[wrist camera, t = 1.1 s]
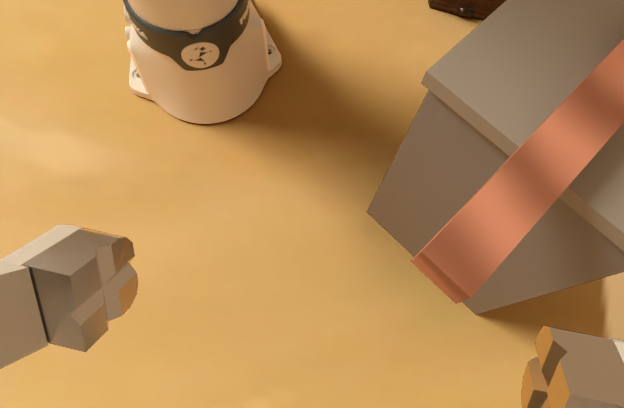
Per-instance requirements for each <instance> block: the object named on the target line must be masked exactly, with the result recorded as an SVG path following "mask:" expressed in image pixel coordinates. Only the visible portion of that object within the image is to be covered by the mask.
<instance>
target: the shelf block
mask: <svg viewBox="0 0 624 408" xmlns="http://www.w3.org/2000/svg"><path fill="white" fill-rule="evenodd" d="M623 38H624V0H506V1H505V2H504V3H503V4H502V5H501V6H499V7H498V8H497V9H496V10H495V11H494V12H493V13H492V14H490V15H489V16H488V17H487V18H486V19H485V20H484V21H483V22H481V23H480V24H479V25H478V26H477V27H476V28H475V29H474V30H472V31H471V32H470V33H469V34H468V35H467V36H466V37H465V38H463V39H462V40H461V41H460V42H459V43H458V44H457V45H456V46H454V47H453V48H452V49H451V50H450V51H449V52H448V53H447V54H445V55H444V56H443V57H442V58H441V59H440V60H439V61H437V62H436V63H435V64H434V65H433V66H432V67H431V68H430V69H428V70H427V71H426V73H425V76H424V78H423V80H422V82H421V83H422V84H423V85H424V86H425V87H426V88H428V89H429V90H428V92H427V94H426V96H425V98H424V100H423V102H422V104H421V106H420V108H419V110H418V112H417V114H416V116H415V118H414V120H413V122H412V124H411V126H410V128H409V130H408V132H407V134H406V136H405V138H404V140H403V141H402V143H401V145H400V147H399V149H398V151H397V153H396V155H395V157H394V159H393V161H392V163H391V165H390V167H389V169H388V171H387V173H386V175H385V177H384V179H383V181H382V183H381V185H380V187H379V189H378V191H377V193H376V194H375V196H374V198H373V200H372V202H371V204H370V206H369V208H368V210H367V213H368V214H369V215H370V216H372V217H373V218H374V219H375V220H376V221H377V222H378V223H379V224H380V225H381V226H382V227H383V228H384V229H385V230H386V231H387V232H389V233H390V234H391V235H392V236H393V237H394V238H395V239H396V240H397V241H398V242H399V243H400V244H401V245H402V246H403V247H404V248H406V249H407V250H408V251H409V252H410V253H411V254H412V255H413V256H414V257H415V256H416V255H417V254H418V253H419V252H420V251H421V250H422V249H423V248H424V247H425V246H426V245H427V244H428V243H429V242H430V241H431V240H432V239H433V237H434V236H435V235H436V234H437V233H438V232H439V231H440V230H441V229H442V228H443V227H444V226H445V225H446V224H447V223H448V222H449V221H450V220H451V219H452V217H453V216H454V215H455V214H456V213H457V212H458V211H459V210H460V209H461V208H462V207H463V206H464V205H465V204H466V203H467V202H468V201H469V200H470V199H471V198H472V196H473V195H474V194H475V193H476V192H477V191H478V190H479V189H480V188H481V187H482V186H483V185H484V184H485V183H486V182H487V181H488V180H489V179H490V178H491V177H492V175H493V174H494V173H495V172H496V171H497V170H498V169H499V168H500V167H501V166H502V165H503V164H504V163H505V162H506V161H507V160H508V159H509V158H510V157H511V155H512V154H513V153H514V152H515V151H516V150H517V149H518V148H519V147H520V146H521V145H522V144H523V143H524V142H525V141H526V140H527V139H528V138H529V137H530V136H531V134H532V133H533V132H534V131H535V130H536V129H537V128H538V127H539V126H540V125H541V124H542V123H543V122H544V121H545V120H546V119H547V118H548V117H549V116H550V114H551V113H552V112H553V111H554V110H555V109H556V108H557V107H558V106H559V105H560V104H561V103H562V102H563V101H564V100H565V99H566V98H567V97H568V96H569V95H570V93H571V92H572V91H573V90H574V89H575V88H576V87H577V86H578V85H579V84H580V83H581V82H582V81H583V80H584V79H585V78H586V77H587V76H588V75H589V73H590V72H591V71H592V70H593V69H594V68H595V67H596V66H597V65H598V64H599V63H600V62H601V61H602V60H603V59H604V58H605V57H606V56H607V55H608V54H609V52H610V51H611V50H612V49H613V48H614V47H615V46H616V45H617V44H618V43H619V42H620V41H621V40H622V39H623ZM621 272H624V123H623V124H622V125H621V126H620V127H619V128H618V130H617V131H616V132H615V133H614V134H613V135H612V136H611V138H610V139H609V140H608V141H607V142H606V143H605V144H604V146H603V147H602V148H601V149H600V150H599V151H598V152H597V154H596V155H595V156H594V157H593V158H592V159H591V161H590V162H589V163H588V164H587V165H586V166H585V167H584V169H583V170H582V171H581V172H580V173H579V174H578V175H577V177H576V178H575V179H574V180H573V181H572V182H571V184H570V185H569V186H568V187H567V188H566V189H565V190H564V192H563V193H562V194H561V195H560V196H559V197H558V198H557V200H556V201H555V202H554V203H553V204H552V205H551V207H550V208H549V209H548V210H547V211H546V212H545V213H544V215H543V216H542V217H541V218H540V219H539V220H538V221H537V223H536V224H535V225H534V226H533V227H532V228H531V230H530V231H529V232H528V233H527V234H526V235H525V236H524V238H523V239H522V240H521V241H520V242H519V243H518V244H517V246H516V247H515V248H514V249H513V250H512V251H511V253H510V254H509V255H508V256H507V257H506V258H505V259H504V261H503V262H502V263H501V264H500V265H499V266H498V267H497V269H496V270H495V271H494V272H493V273H492V274H491V276H490V277H489V278H488V279H487V280H486V281H485V282H484V284H483V285H482V286H481V287H480V288H479V289H478V290H477V292H476V293H475V294H474V295H473V296H472V297H471V298H469V299H467V300H464V301H462V302H463V303H464V304H465V305H466V306H467V307H468V308H469V309H470V310H471V311H473V312H474V313H475V314H476V315H477V314H480V313H483V312H487V311H490V310H494V309H497V308H501V307H504V306H508V305H511V304H514V303H518V302H521V301H525V300H528V299H532V298H535V297H539V296H542V295H545V294H549V293H552V292H556V291H559V290H563V289H566V288H570V287H573V286H576V285H580V284H583V283H587V282H590V281H594V280H597V279H601V278H604V277H607V276H611V275H614V274H618V273H621Z"/></svg>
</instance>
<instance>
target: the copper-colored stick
mask: <svg viewBox="0 0 624 408" xmlns="http://www.w3.org/2000/svg"><path fill="white" fill-rule="evenodd" d="M623 123H624V38H623V39H622V40H621V41H620V42H619V43H618V44H617V45H616V46H615V47H614V48H613V49H612V50H611V51H610V52H609V54H608V55H607V56H606V57H605V58H604V59H603V60H602V61H601V62H600V63H599V64H598V65H597V66H596V67H595V68H594V69H593V70H592V71H591V72H590V73H589V75H588V76H587V77H586V78H585V79H584V80H583V81H582V82H581V83H580V84H579V85H578V86H577V87H576V88H575V89H574V90H573V91H572V92H571V93H570V95H569V96H568V97H567V98H566V99H565V100H564V101H563V102H562V103H561V104H560V105H559V106H558V107H557V108H556V109H555V110H554V111H553V112H552V113H551V114H550V116H549V117H548V118H547V119H546V120H545V121H544V122H543V123H542V124H541V125H540V126H539V127H538V128H537V129H536V130H535V131H534V132H533V133H532V134H531V136H530V137H529V138H528V139H527V140H526V141H525V142H524V143H523V144H522V145H521V146H520V147H519V148H518V149H517V150H516V151H515V152H514V153H513V154H512V155H511V157H510V158H509V159H508V160H507V161H506V162H505V163H504V164H503V165H502V166H501V167H500V168H499V169H498V170H497V171H496V172H495V173H494V174H493V175H492V177H491V178H490V179H489V180H488V181H487V182H486V183H485V184H484V185H483V186H482V187H481V188H480V189H479V190H478V191H477V192H476V193H475V194H474V195H473V196H472V198H471V199H470V200H469V201H468V202H467V203H466V204H465V205H464V206H463V207H462V208H461V209H460V210H459V211H458V212H457V213H456V214H455V215H454V216H453V217H452V219H451V220H450V221H449V222H448V223H447V224H446V225H445V226H444V227H443V228H442V229H441V230H440V231H439V232H438V233H437V234H436V235H435V236H434V237H433V239H432V240H431V241H430V242H429V243H428V244H427V245H426V246H425V247H424V248H423V249H422V250H421V251H420V252H419V253H418V254H417V255H416V256H415V257H414V258H413V260H412V261H411V262H412V263H413V264H414V265H415V266H417V267H418V268H419V269H420V270H421V271H422V272H423V273H424V274H425V275H426V276H427V277H428V278H429V279H430V280H431V281H432V282H433V283H435V284H436V285H437V286H438V287H439V288H440V289H441V290H442V291H443V292H444V293H445V294H446V295H447V296H448V297H449V298H450V299H451V300H453V301H454V302H455V303H459V302H462V301H464V300H467V299H469V298H471V297H472V296H473V295H474V294H475V293H476V292H477V290H478V289H479V288H480V287H481V286H482V285H483V284H484V282H485V281H486V280H487V279H488V278H489V277H490V276H491V274H492V273H493V272H494V271H495V270H496V269H497V267H498V266H499V265H500V264H501V263H502V262H503V261H504V259H505V258H506V257H507V256H508V255H509V254H510V253H511V251H512V250H513V249H514V248H515V247H516V246H517V244H518V243H519V242H520V241H521V240H522V239H523V238H524V236H525V235H526V234H527V233H528V232H529V231H530V230H531V228H532V227H533V226H534V225H535V224H536V223H537V221H538V220H539V219H540V218H541V217H542V216H543V215H544V213H545V212H546V211H547V210H548V209H549V208H550V207H551V205H552V204H553V203H554V202H555V201H556V200H557V198H558V197H559V196H560V195H561V194H562V193H563V192H564V190H565V189H566V188H567V187H568V186H569V185H570V184H571V182H572V181H573V180H574V179H575V178H576V177H577V175H578V174H579V173H580V172H581V171H582V170H583V169H584V167H585V166H586V165H587V164H588V163H589V162H590V161H591V159H592V158H593V157H594V156H595V155H596V154H597V152H598V151H599V150H600V149H601V148H602V147H603V146H604V144H605V143H606V142H607V141H608V140H609V139H610V138H611V136H612V135H613V134H614V133H615V132H616V131H617V130H618V128H619V127H620V126H621V125H622V124H623Z"/></svg>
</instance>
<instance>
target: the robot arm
mask: <svg viewBox="0 0 624 408" xmlns="http://www.w3.org/2000/svg"><path fill="white" fill-rule="evenodd" d="M123 1H124V15H125V19H126V21H127V23H128V24H131V26H126V27H125V34H126V37H127V39H130V40H129V41H128V42H127V46H128V50H129V52H130V55H131V65H130V76H129V85H130V88H131V91H132V92H133V93H134V94H136V95H138V96H140V97H143V98H146V99H150V100H152V101H154V102H156V103H157V104H158V105H159V106H160V107H161V108H163V109H164V110H165V111H166V112H168V113H169V114H171V115H172V116H174V117H176V118H178V119H181V120H183V121H187V122H191V123H198V124H212V123H219V122H223V121H226V120H229V119H232V118H234V117H236V116H238V115H240V114H242V113H243V112H245V111H246V110H247V109H248V108H250V107H251V106H252V105H253V104H254V102H255V101H256V100H257V99H258V97H259V96H260V94H261V92H262V90H263V88H264V86H265V83H266V82H267V80H268V78H270V77H271V76H272V75H273V74H274V73H276V72H277V71H278V70H279V68H280V67H281V65H282V58H281V54H280V53H279V51H278V49H277V47H276V45H275V43H274V42H273V40H272V38H271V36H270V34H269V32H268V31H267V29H266V27H265V24H264V20H263V19H261V18H260V16H259V14H258V12H257V11H256V9H255V7H254V5H253V3H252V1H251V0H123ZM268 52H270V53H271V54H268ZM139 76H140V78H138V77H139ZM134 256H135V255H134V249H133V244H132V242H131V241H130V240H129V239H128V238H126V237H122V236H118V235H114V234H109V233H105V232H101V231H97V230H92V229H88V228H83V227H79V226H74V225H69V224H61V225H58V226H56V227H54V228H53V229H51V230H49V231H48V232H46V233H44V234H43V235H41V236H39V237H38V238H36V239H34V240H33V241H31V242H29V243H28V244H26V245H24V246H23V247H21V248H19V249H18V250H16V251H14V252H13V253H11V254H9V255H8V256H6V257H4V258H3V259H1V260H0V369H1V368H3V367H5V366H7V365H9V364H11V363H13V362H15V361H17V360H19V359H21V358H23V357H25V356H28V355H30V354H32V353H34V352H36V351H38V350H40V349H42V348H44V347H46V346H48V343H50V344H54V345H58V346H62V347H66V348H70V349H75V350H79V351H83V352H86V351H87V350H88V349H89V348H90V347H91V346H92V345H93V344H94V343H95V342H96V341H97V340H98V339H99V338H100V337H101V336H102V335H103V334H104V333H105V332H106V331H107V330H108V321H110V320H113V319H115V318H118V317H120V316H122V315H123V314H124V313H125V312H126V311H127V310H128V309H129V308H130V307H131V305H132V303H133V301H134V298H135V296H136V294H137V287H138V278H137V273H136V271H135V270H134V269H133V267H132V266H131V265H130V262H131V260H132V259H133V257H134ZM535 345H536V349H537V354H538V357H536V358H534V359H532V360H531V361H529V362H528V364H527V367H526V370H525V373H524V376H523V382H522V390H521V400H522V408H624V340H619V339H613V338H604V337H599V336H594V335H589V334H584V333H579V332H574V331H569V330H564V329H559V328H554V327H549V326H543V328H542V329H541V330H540V332H539V334H538V337H537V339H536V342H535Z"/></svg>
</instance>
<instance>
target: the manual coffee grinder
mask: <svg viewBox="0 0 624 408" xmlns="http://www.w3.org/2000/svg"><path fill="white" fill-rule="evenodd" d="M505 1H506V0H428V2H429V6H430V7H431V8H435V9H438V10H442V11H446V12H449V13H453V14H456V15H459V16H463V17H468V18H476V19H481V20H485V19H486V18H487V17H488V16H489V15H490V14H492V13H493V12H494V11H495V10H496V9H497V8H498V7H499V6H501V5H502V4H503V3H504V2H505Z"/></svg>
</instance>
